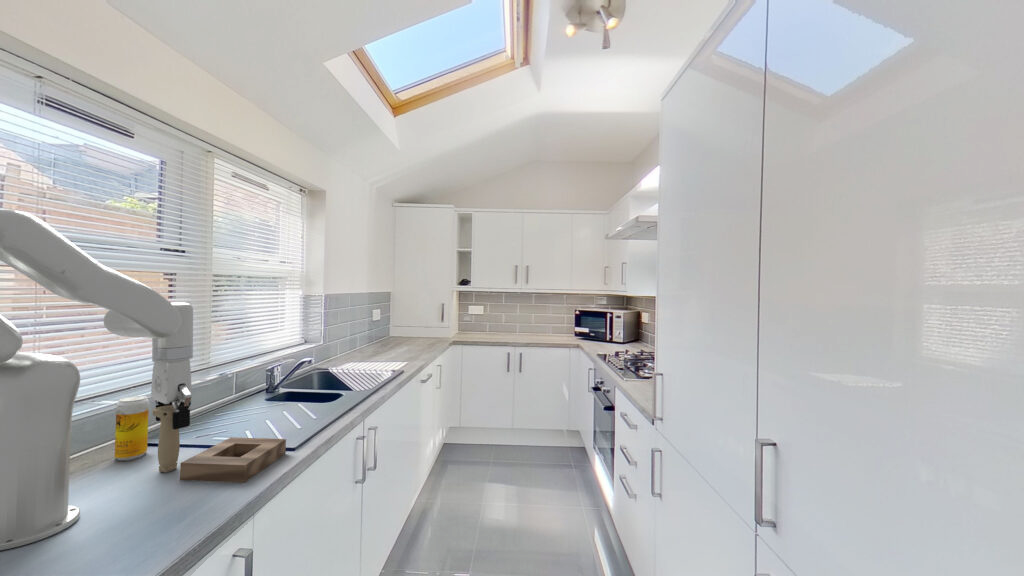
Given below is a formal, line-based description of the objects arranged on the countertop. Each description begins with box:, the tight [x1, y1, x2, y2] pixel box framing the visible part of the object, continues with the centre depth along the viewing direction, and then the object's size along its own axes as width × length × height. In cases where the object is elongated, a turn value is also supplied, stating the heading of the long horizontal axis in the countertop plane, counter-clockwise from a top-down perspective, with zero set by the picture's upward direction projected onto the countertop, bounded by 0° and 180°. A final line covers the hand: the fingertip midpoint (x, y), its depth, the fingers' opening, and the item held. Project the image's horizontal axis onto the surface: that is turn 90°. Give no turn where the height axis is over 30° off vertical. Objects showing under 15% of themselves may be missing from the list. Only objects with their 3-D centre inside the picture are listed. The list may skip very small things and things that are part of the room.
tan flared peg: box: [152, 404, 181, 473], centre depth 95 cm, size 5×6×15 cm
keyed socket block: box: [179, 436, 287, 483], centre depth 98 cm, size 16×15×4 cm
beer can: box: [114, 395, 150, 461], centre depth 102 cm, size 6×6×15 cm
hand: (172, 423), depth 96 cm, fingers open, 9 cm apart
